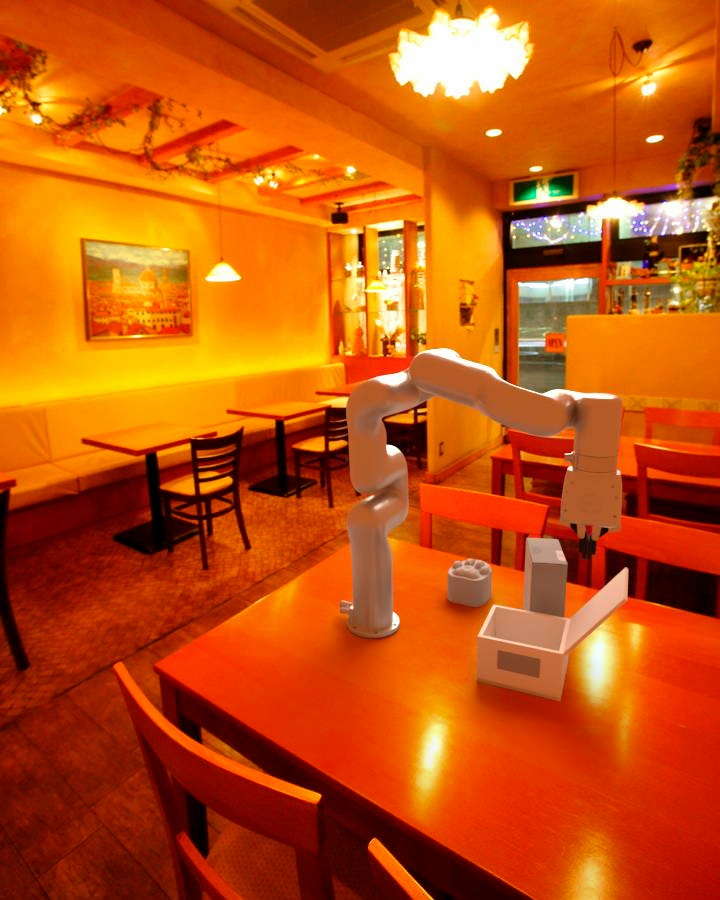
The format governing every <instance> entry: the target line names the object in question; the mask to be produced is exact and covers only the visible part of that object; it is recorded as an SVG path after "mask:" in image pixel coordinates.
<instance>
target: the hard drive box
mask: <svg viewBox="0 0 720 900" xmlns="http://www.w3.org/2000/svg"><path fill="white" fill-rule="evenodd" d="M524 562H525V563H524V580H523V602H522V603H523V604H522V608H523V609H522V610H526V611H531V612H537V613H542V614H547V615H553V616H558V617H564V618H565V609H566V597H567V595H566V593H567V581H568V579H567V578H568V566H569V564H568V561H567V559H566V556H565V554H564V552H563V549H562V546H561V543H560V541H559V539H557V538H545V537H544V538H542V537H541V538H540V537H526V539H525V559H524Z"/></svg>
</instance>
